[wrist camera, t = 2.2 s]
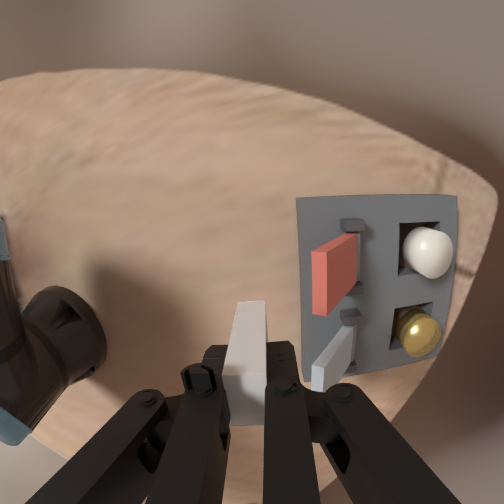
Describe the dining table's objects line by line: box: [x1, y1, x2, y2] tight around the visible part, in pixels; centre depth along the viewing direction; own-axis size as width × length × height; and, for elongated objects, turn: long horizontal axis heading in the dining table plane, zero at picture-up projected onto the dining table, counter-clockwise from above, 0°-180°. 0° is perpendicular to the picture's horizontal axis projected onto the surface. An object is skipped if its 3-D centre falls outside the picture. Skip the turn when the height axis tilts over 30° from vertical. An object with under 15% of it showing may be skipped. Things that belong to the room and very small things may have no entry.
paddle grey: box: [311, 324, 357, 392], centre depth 26 cm, size 2×5×9 cm
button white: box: [403, 227, 453, 279], centre depth 25 cm, size 5×5×4 cm
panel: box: [296, 194, 458, 382], centre depth 29 cm, size 20×22×5 cm
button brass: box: [395, 308, 441, 358], centre depth 28 cm, size 5×5×4 cm
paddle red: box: [311, 232, 360, 316], centre depth 24 cm, size 2×5×9 cm
